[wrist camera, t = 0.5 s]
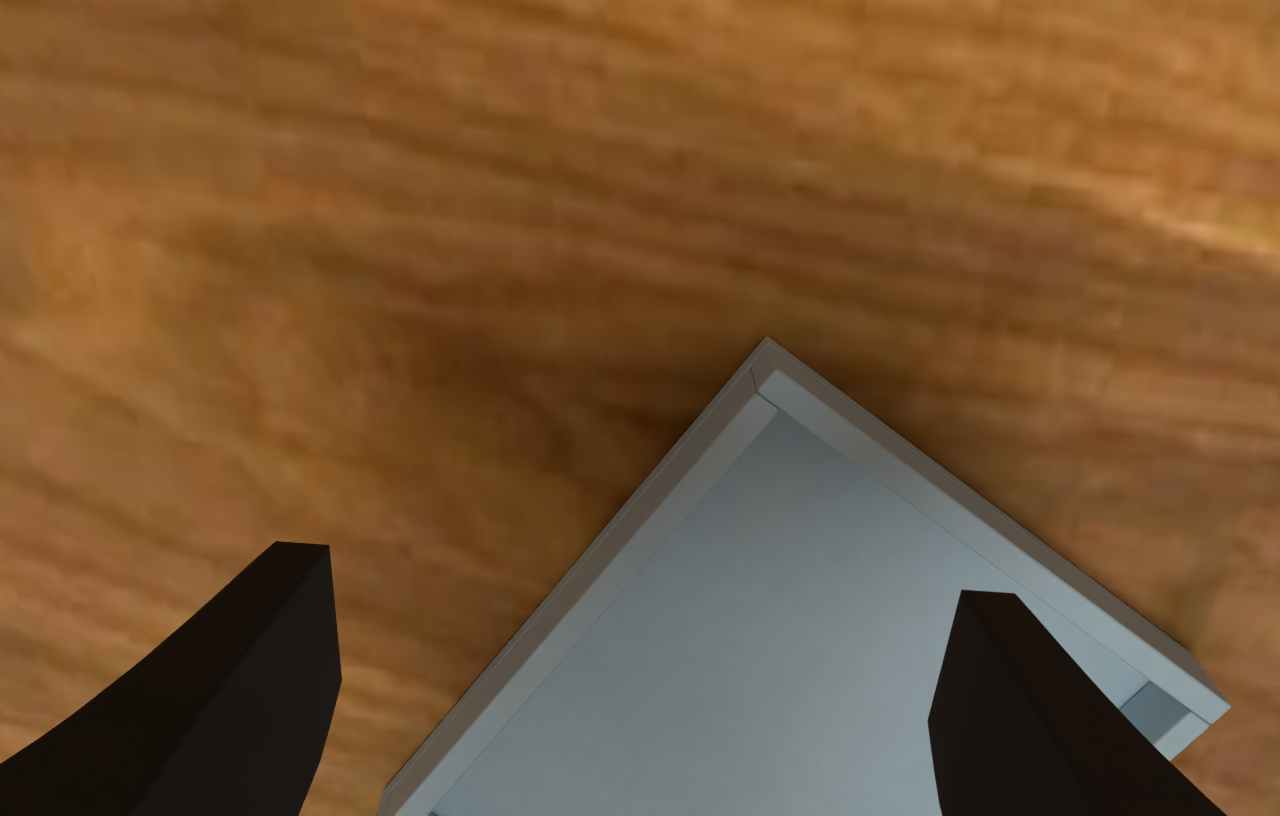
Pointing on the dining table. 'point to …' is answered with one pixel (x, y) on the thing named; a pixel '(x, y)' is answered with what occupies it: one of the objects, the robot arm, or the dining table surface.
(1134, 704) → the tray
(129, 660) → the dining table surface
